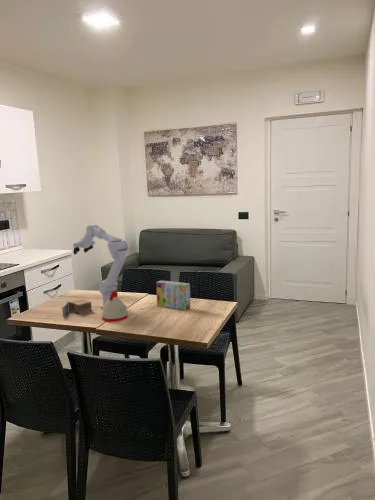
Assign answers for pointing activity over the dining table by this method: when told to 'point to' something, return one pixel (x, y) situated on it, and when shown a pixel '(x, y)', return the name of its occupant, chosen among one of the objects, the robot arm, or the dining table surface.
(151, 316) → the dining table surface
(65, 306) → the door
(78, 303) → the cabinet
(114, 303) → the kitchen timer
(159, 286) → the snack box
